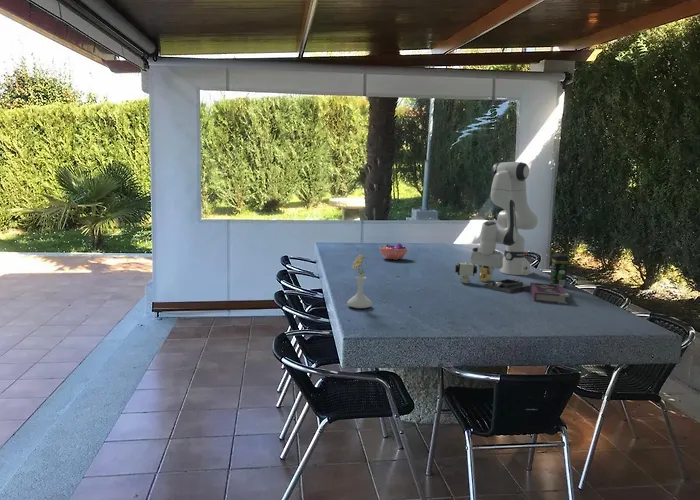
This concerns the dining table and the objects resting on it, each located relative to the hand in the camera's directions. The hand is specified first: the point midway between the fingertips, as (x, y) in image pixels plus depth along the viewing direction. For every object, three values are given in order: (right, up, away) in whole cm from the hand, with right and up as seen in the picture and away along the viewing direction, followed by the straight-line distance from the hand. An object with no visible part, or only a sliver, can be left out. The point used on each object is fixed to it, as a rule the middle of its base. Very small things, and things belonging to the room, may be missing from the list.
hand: (485, 273), depth 334 cm
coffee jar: (+40, -7, -5) cm, 41 cm away
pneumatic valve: (-13, -5, -7) cm, 16 cm away
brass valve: (0, -4, +1) cm, 4 cm away
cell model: (-49, +7, +59) cm, 77 cm away
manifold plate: (+8, -7, -17) cm, 20 cm away
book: (+24, -11, -34) cm, 43 cm away
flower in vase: (-74, -13, -72) cm, 104 cm away
